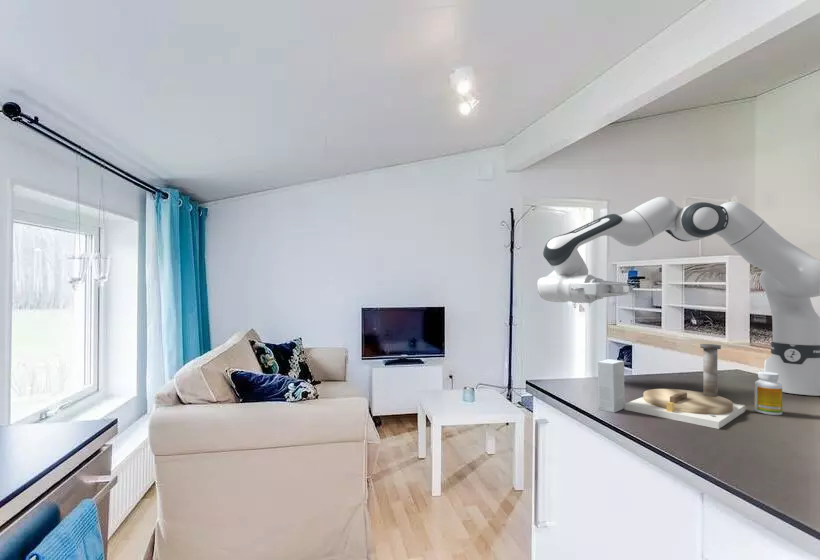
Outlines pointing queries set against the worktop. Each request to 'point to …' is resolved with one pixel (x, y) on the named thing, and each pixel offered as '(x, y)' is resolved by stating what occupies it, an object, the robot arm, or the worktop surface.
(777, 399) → the supplement bottle
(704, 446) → the worktop surface
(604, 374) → the skincare box
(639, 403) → the dial stand
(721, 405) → the dial
